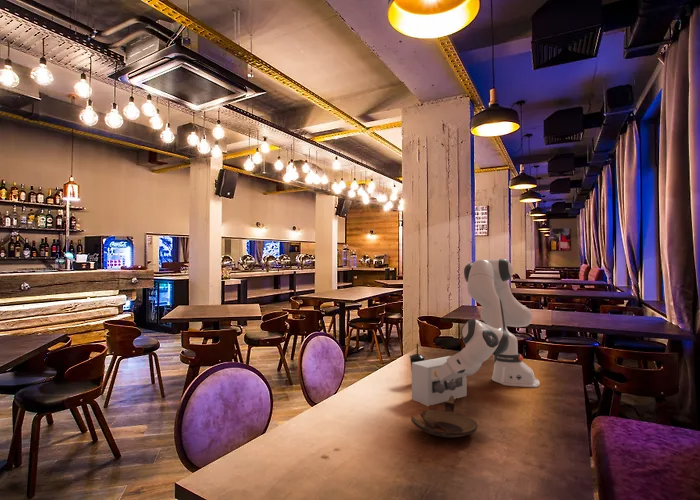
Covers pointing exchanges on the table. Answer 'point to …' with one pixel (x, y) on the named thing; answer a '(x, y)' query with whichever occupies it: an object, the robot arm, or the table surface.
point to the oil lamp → (446, 421)
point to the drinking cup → (416, 357)
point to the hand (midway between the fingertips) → (448, 380)
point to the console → (432, 383)
